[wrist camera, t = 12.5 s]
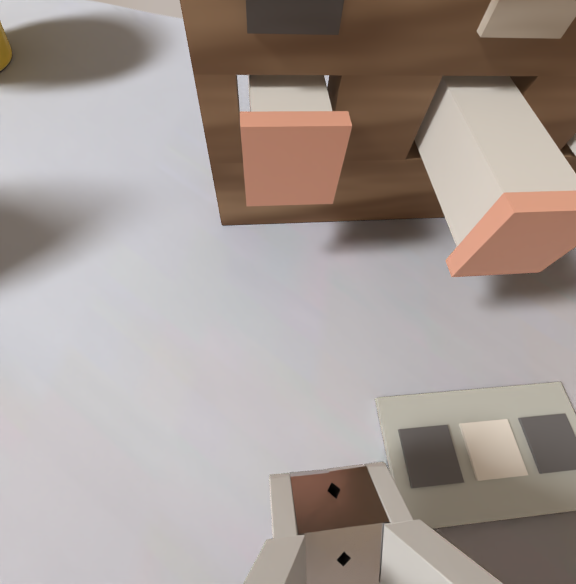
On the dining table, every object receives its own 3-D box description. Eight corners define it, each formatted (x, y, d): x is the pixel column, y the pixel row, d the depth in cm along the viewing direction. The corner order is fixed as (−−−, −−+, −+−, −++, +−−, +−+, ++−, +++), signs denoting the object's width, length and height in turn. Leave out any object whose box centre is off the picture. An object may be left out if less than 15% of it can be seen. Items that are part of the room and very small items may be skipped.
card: (608, 504, 14) (621, 505, 13) (401, 530, 13) (406, 532, 13) (554, 383, 16) (563, 381, 16) (374, 399, 15) (378, 396, 15)
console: (581, 217, 21) (1009, -122, 9) (221, 230, 19) (142, -187, 7) (538, 149, 24) (817, -177, 12) (221, 154, 22) (165, -234, 10)
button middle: (539, 272, 14) (629, 208, 10) (451, 276, 13) (514, 212, 10) (466, 130, 18) (513, 51, 14) (398, 131, 17) (429, 50, 14)
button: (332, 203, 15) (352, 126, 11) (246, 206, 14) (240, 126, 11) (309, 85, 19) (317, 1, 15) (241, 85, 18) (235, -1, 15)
